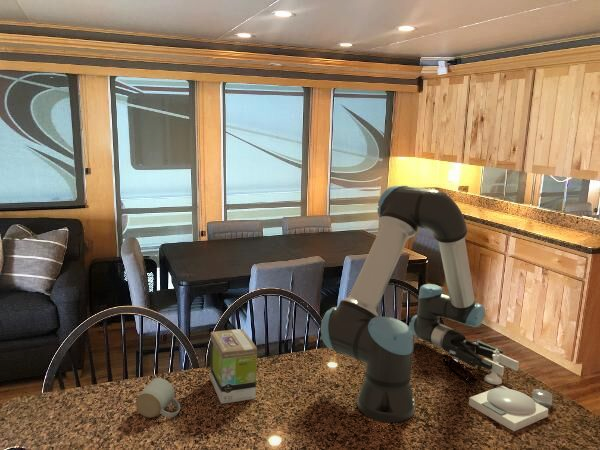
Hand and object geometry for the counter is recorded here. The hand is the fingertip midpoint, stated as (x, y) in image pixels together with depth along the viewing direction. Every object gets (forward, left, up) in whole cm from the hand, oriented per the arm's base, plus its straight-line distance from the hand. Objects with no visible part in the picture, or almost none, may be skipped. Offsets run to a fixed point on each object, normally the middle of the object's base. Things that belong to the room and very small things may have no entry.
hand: (510, 368), depth 145 cm
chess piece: (0, +5, -6) cm, 8 cm away
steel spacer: (+1, -10, -6) cm, 12 cm away
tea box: (-71, +37, -6) cm, 80 cm away
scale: (-11, -8, -6) cm, 15 cm away
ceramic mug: (-92, +35, -6) cm, 99 cm away
